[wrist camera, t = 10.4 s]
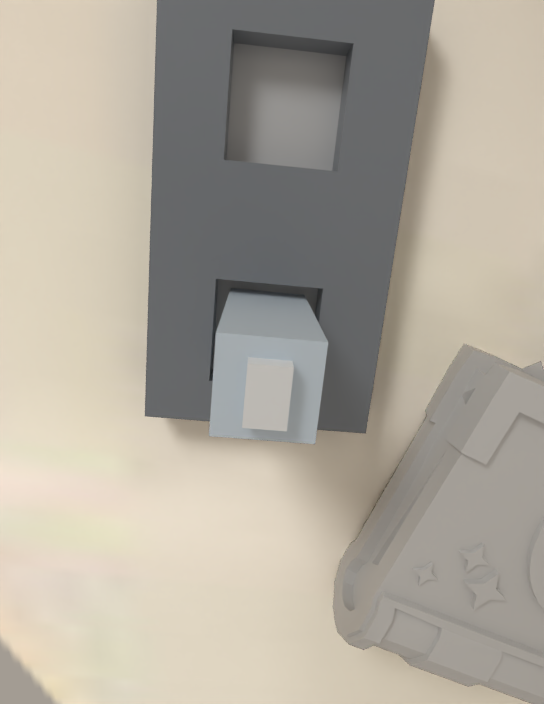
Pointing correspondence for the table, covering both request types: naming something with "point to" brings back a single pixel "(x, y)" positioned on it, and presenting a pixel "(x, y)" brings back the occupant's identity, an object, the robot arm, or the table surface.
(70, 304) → the table surface
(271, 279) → the jack panel
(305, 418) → the plug
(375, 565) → the grey lumpy block
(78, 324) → the table surface
